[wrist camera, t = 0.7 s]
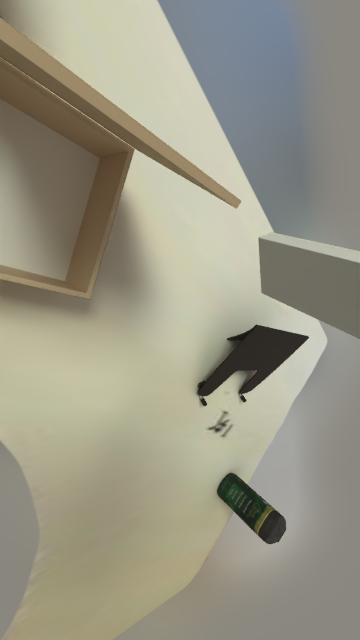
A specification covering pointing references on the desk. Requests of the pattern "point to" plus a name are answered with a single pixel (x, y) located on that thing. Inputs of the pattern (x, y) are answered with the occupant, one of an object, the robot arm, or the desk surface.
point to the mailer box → (54, 188)
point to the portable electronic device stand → (254, 357)
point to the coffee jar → (252, 509)
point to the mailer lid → (99, 108)
